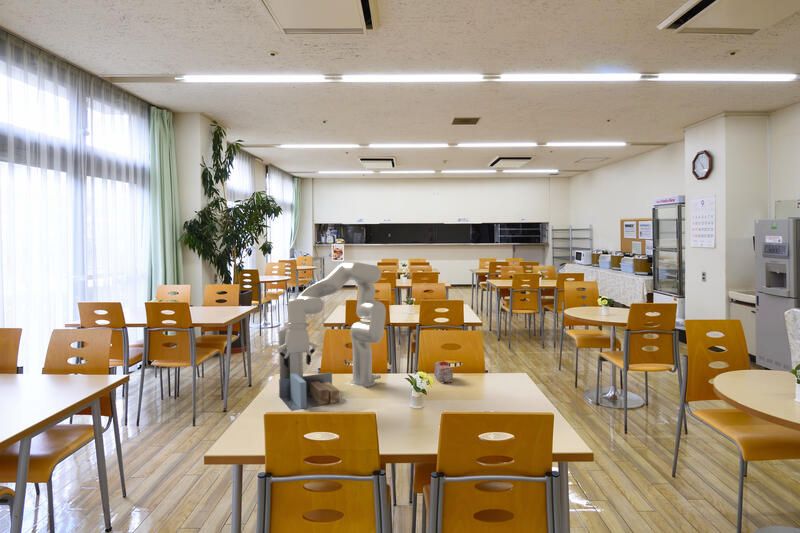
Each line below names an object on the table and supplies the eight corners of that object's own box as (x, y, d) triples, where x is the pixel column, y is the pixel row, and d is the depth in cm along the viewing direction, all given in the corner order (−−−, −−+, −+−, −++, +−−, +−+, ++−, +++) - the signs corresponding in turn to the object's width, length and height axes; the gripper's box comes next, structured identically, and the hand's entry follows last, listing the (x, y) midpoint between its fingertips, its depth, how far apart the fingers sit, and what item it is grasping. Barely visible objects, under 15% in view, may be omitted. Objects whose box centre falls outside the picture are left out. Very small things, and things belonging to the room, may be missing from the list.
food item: (454, 383, 240) (454, 364, 240) (439, 384, 238) (439, 365, 238) (446, 376, 253) (446, 358, 253) (432, 377, 252) (432, 358, 251)
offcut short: (328, 392, 223) (328, 382, 222) (339, 401, 210) (339, 390, 210) (320, 393, 221) (320, 383, 221) (330, 402, 208) (330, 391, 208)
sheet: (296, 397, 216) (295, 373, 216) (306, 407, 202) (306, 382, 202) (290, 397, 215) (290, 373, 215) (300, 408, 201) (300, 382, 201)
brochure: (291, 395, 222) (290, 331, 221) (280, 394, 223) (278, 331, 222) (303, 386, 236) (302, 326, 235) (292, 385, 237) (291, 326, 236)
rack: (331, 390, 229) (331, 372, 228) (347, 403, 210) (347, 383, 210) (279, 398, 217) (278, 379, 217) (291, 413, 198) (291, 391, 198)
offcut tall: (318, 394, 220) (318, 381, 220) (328, 403, 208) (328, 389, 208) (310, 395, 218) (310, 382, 218) (319, 404, 206) (319, 390, 206)
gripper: (313, 324, 215) (313, 361, 215) (275, 326, 207) (275, 365, 207) (318, 326, 208) (319, 365, 209) (279, 329, 200) (279, 369, 201)
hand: (297, 365), depth 208 cm, fingers open, 9 cm apart
